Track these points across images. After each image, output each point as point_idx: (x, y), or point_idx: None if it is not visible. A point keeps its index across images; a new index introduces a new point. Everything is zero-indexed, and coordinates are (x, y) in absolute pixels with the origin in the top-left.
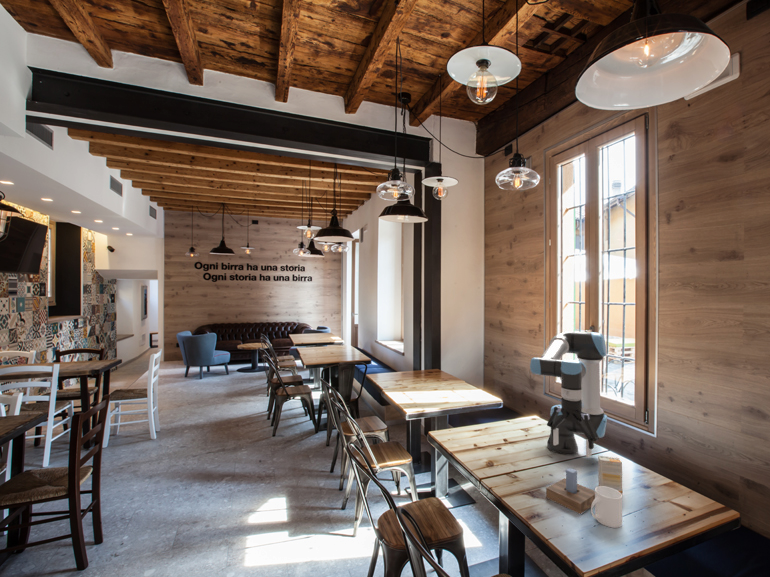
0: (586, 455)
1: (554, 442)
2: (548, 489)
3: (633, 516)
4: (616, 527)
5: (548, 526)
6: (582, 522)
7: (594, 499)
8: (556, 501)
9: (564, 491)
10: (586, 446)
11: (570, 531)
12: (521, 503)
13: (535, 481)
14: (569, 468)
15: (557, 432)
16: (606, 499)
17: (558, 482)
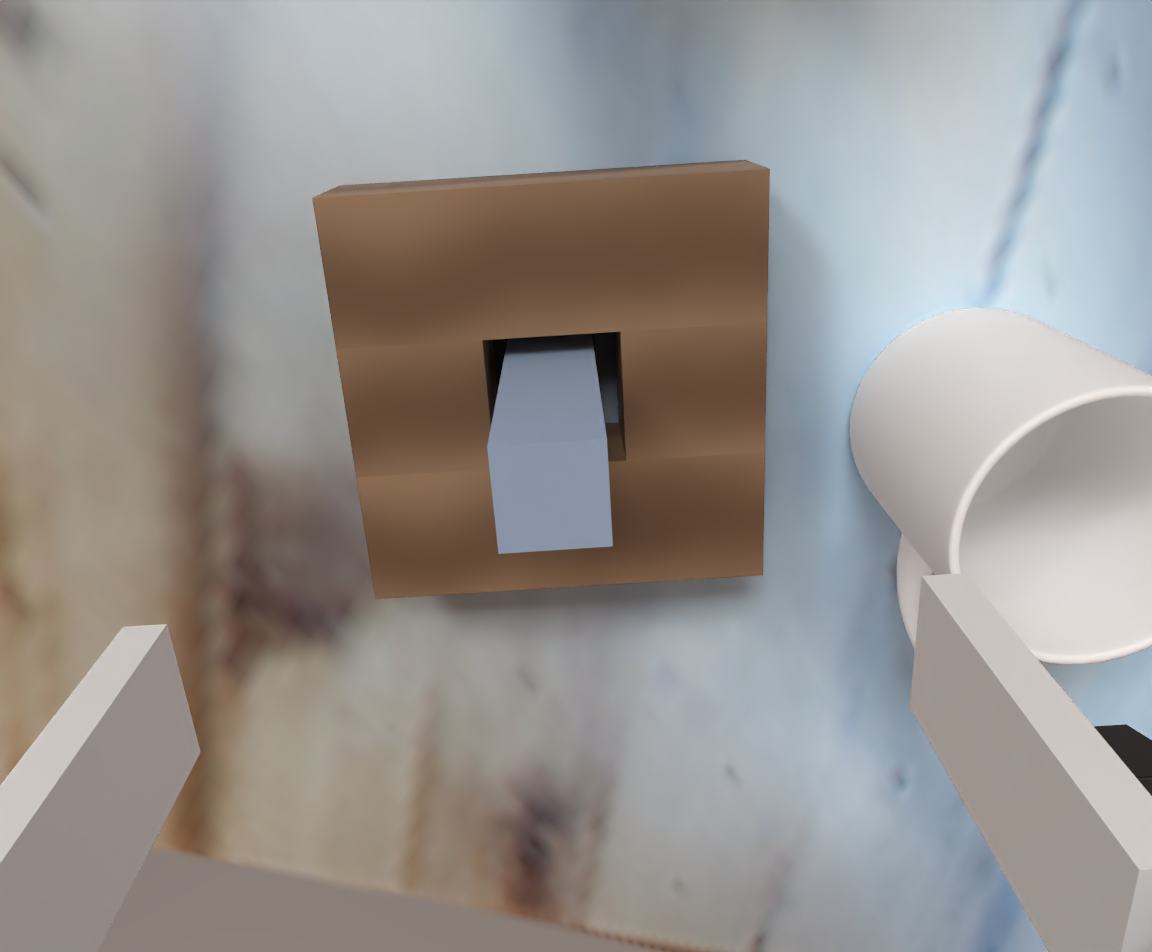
0: (929, 728)
1: (163, 803)
2: (405, 595)
3: (1103, 98)
4: (1045, 459)
5: (678, 858)
6: (812, 618)
7: None
8: None
9: None
10: (1022, 887)
11: (809, 785)
12: (355, 795)
13: (88, 363)
14: (497, 467)
15: (28, 892)
16: (1107, 642)
17: (358, 375)
